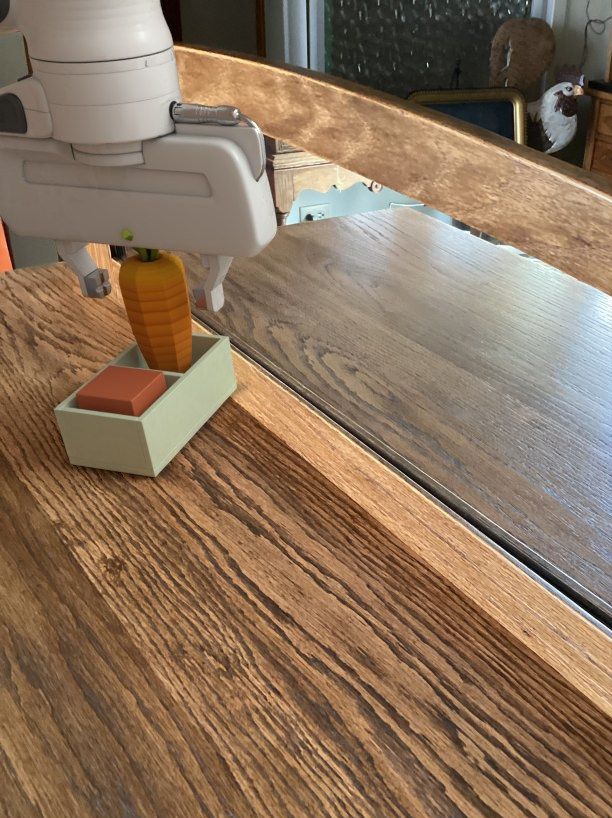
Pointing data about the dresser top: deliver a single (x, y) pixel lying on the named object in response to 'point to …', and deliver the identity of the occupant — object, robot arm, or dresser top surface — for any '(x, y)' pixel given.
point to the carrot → (158, 307)
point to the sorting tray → (151, 413)
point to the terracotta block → (122, 391)
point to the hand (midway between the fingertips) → (153, 301)
